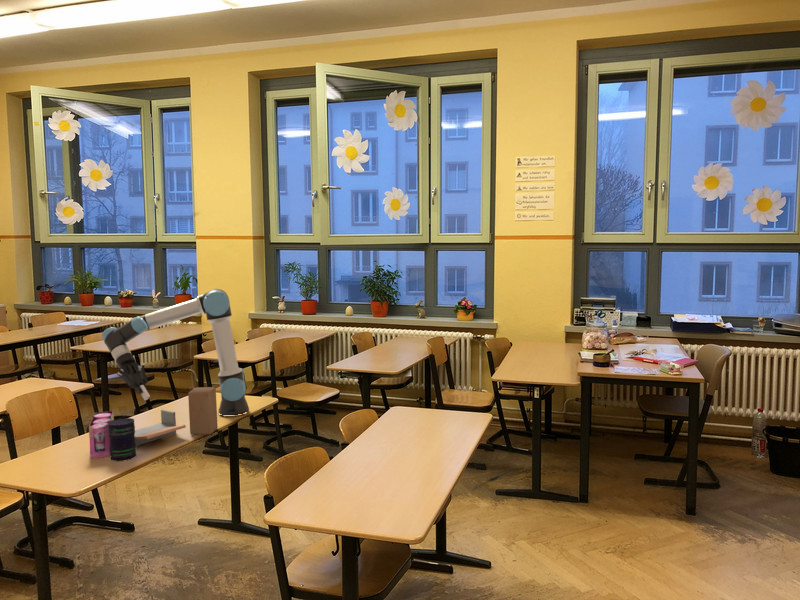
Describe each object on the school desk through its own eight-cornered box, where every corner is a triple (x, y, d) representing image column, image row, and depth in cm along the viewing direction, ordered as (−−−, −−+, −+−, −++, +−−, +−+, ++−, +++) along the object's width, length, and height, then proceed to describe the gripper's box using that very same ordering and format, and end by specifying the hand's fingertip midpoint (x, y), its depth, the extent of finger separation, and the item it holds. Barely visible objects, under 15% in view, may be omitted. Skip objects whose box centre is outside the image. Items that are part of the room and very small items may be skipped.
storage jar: (113, 463, 245) (111, 426, 244) (107, 457, 253) (104, 421, 251) (139, 457, 252) (137, 421, 250) (132, 451, 259) (130, 416, 258)
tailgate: (173, 425, 281) (185, 424, 276) (173, 428, 281) (185, 427, 276) (134, 437, 266) (146, 436, 261) (135, 439, 266) (147, 439, 261)
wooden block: (211, 435, 280) (209, 391, 278) (189, 435, 280) (187, 392, 278) (218, 428, 290) (216, 386, 288) (197, 428, 290) (195, 387, 288)
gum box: (110, 457, 253) (108, 424, 251) (89, 460, 250) (87, 427, 249) (115, 440, 275) (113, 410, 274) (95, 442, 272) (93, 412, 271)
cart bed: (164, 430, 288) (163, 409, 287) (176, 433, 283) (175, 412, 282) (119, 443, 270) (118, 421, 269) (131, 447, 265) (130, 424, 264)
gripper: (133, 359, 290) (156, 399, 283) (107, 364, 279) (130, 406, 272) (139, 349, 286) (163, 390, 279) (113, 354, 276) (137, 396, 268)
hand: (147, 398), depth 276 cm, fingers closed
